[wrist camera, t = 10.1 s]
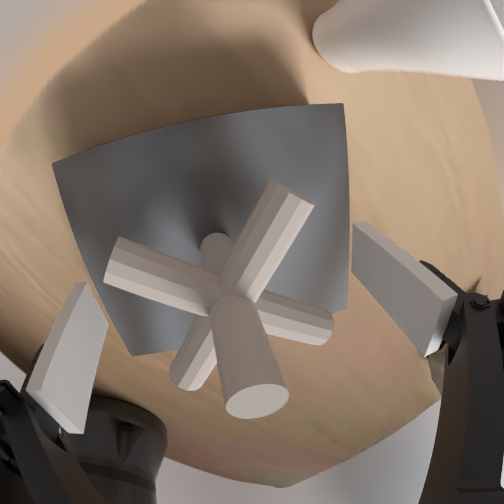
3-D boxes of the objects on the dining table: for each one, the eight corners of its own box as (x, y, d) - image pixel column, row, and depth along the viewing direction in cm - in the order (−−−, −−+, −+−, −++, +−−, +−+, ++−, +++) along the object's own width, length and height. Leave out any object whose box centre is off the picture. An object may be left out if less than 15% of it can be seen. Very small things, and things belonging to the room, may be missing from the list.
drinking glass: (359, 0, 14) (512, -50, 1) (390, 73, 17) (561, 82, 4) (284, 12, 14) (427, -94, 1) (321, 93, 18) (514, 96, 4)
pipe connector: (108, 288, 16) (69, 438, 7) (170, 125, 13) (133, 142, 4) (251, 333, 19) (296, 463, 11) (331, 207, 16) (455, 306, 8)
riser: (139, 314, 23) (131, 356, 18) (83, 151, 16) (52, 163, 12) (321, 274, 24) (346, 308, 20) (309, 104, 18) (343, 103, 14)
